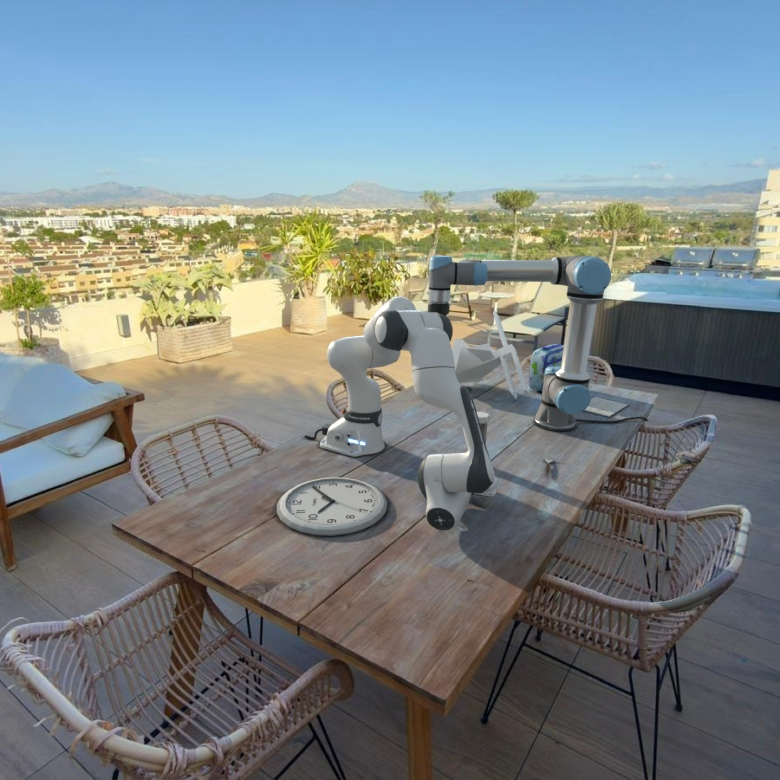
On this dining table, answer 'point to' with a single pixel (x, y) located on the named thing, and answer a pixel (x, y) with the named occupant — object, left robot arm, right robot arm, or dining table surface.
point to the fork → (548, 462)
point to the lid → (483, 417)
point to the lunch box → (544, 364)
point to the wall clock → (331, 506)
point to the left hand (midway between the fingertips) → (466, 468)
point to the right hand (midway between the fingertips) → (436, 362)
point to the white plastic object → (486, 360)
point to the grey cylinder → (484, 430)
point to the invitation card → (604, 406)
